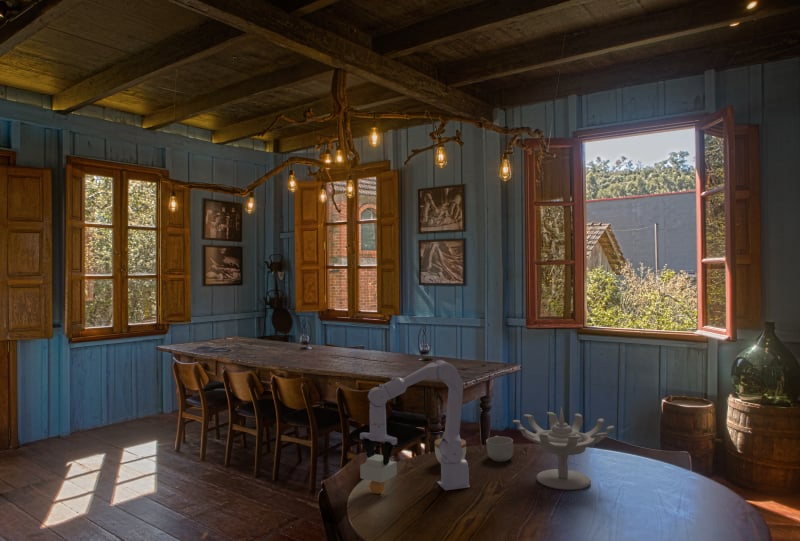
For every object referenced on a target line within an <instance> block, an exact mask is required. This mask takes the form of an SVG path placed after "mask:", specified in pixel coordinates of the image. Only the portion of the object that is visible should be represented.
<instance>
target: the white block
mask: <svg viewBox="0 0 800 541" xmlns="http://www.w3.org/2000/svg"><path fill="white" fill-rule="evenodd" d="M359 468H360V470H359V471H360V472H359V473H360V479H363V480H367V481H376V482H381V483H382V482H384V483H385V482H387V481H388V480H390V479H391V478H394V477H395V476H397V475H398V474H397V473H398V470H397V469H398V468H397V461H393V460H391V458H390V459H389V463H388V464H386V465H384V463H383V454H374V456H372V457H369V458H368V457H367V458H366V461H365V462H364V463H362V464H360V465H359Z"/></svg>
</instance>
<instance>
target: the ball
mask: <svg viewBox="0 0 800 541" xmlns="http://www.w3.org/2000/svg"><path fill="white" fill-rule="evenodd" d="M370 481H371V480H370ZM369 489H370V491H371V493H373V494H375V495H379V494H381V493H383V491H384V489H385V481H384V482H382V483H381V482H376V481H371V482H370V483H369Z"/></svg>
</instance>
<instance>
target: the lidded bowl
mask: <svg viewBox="0 0 800 541" xmlns="http://www.w3.org/2000/svg"><path fill="white" fill-rule="evenodd" d="M460 439H461V448H462V450H463V457H462V459H465V458H466V454H467V441H466V440H465V439H462V438H460ZM441 440H442V437H441V438H438V439H435V440H434V443H433V444H434V452H435V457H436V460H437V461H438V463H439V464H441V457H442V453H441V452H440V450H439V444H440V442H441Z"/></svg>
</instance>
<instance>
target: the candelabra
mask: <svg viewBox="0 0 800 541" xmlns="http://www.w3.org/2000/svg"><path fill="white" fill-rule="evenodd" d="M546 415H548V422H549V429H546V430H545V429H543V428H541V427H540V426H539V425H538V424H537V423H536V421H535V419H534V415H531V414H528V413H527V414H523V415H522V416H523V417H524V418H527V421H528V424H529V426H530V427H531V428H532V429H533V431H534V432H535V433H534V432H532V431H529V430H528V429H527V428H525V427H523V425H522V424H521V420H519V419H514V420H512V423H514V424H518V427H517V428H518V430H519V431H520V432H521V434H522V436H523V437H524V438H526V439H528V440H529V441H531V442H534V443H536V444H538V445H539V447H540V449H541V451H544V452H546V453H548V454H552V455H556V456H557V460H558V465H557V466H558V467H557V468H554V469H551V468H550V469H545V470H543V471H540V472H539V473H537V474H536V477H535V478H536V480H537V481H538V483H539V484H541V485H543V486H546V487H547V488H551V489H556V490H564V491H576V490H582V489H584V488H588V486H590V485H591V482H592V479H591V478H590V477H589V476H588V475H586V474H585V473H582V472H579V471H577V470H572V469H569V466H568V459H569V456H575V455H576V456H577V455H581V454H583V453H584V452H585V451H586V448H589V447H592V446H594V445H596V444H598V443H600V441H602V440H604V439H606V438H607V437H608V435H609V434H610V432H609V431H612V430H614V429H615V426H614V425H609V426H606V431H605V432H601V431H602V428H603V423H605V422H604V421H605V419H604V418H598V419H597V421H596V425H595V427H593V428H592V429H591V430H589V431H587V432H585V433H584V432H580V431H581V428H582V427H583V421H584V419H583V415H582V414H580V413H574V421H573V424H572V426H571V425H568V423H567V422H565V418H564V413H563V407H562V406H560V413H559V418H558V414H556V413H555V412H552V411H547V412H546Z"/></svg>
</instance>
